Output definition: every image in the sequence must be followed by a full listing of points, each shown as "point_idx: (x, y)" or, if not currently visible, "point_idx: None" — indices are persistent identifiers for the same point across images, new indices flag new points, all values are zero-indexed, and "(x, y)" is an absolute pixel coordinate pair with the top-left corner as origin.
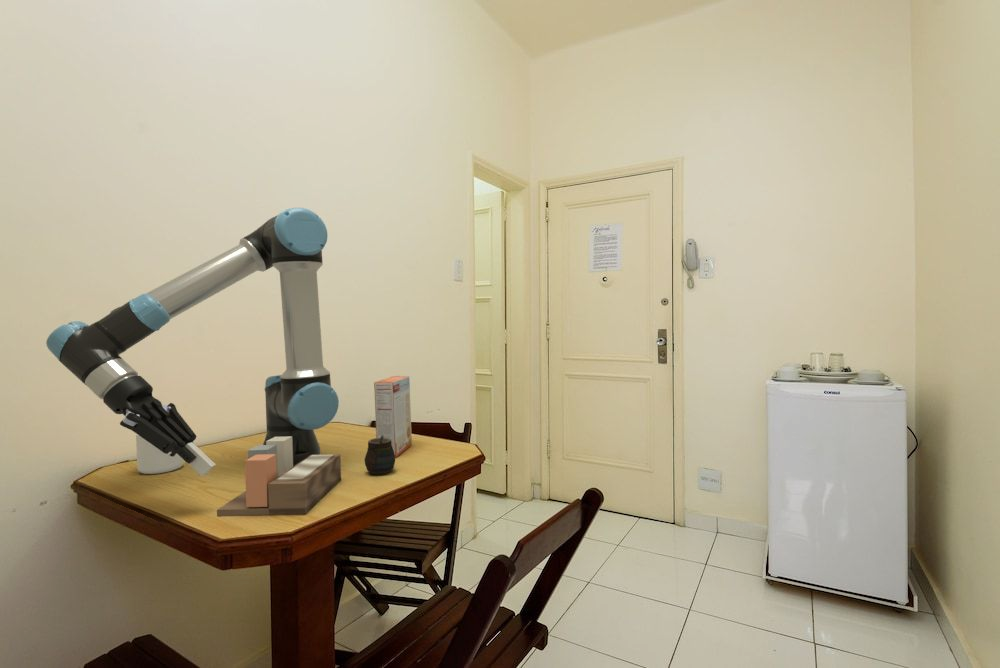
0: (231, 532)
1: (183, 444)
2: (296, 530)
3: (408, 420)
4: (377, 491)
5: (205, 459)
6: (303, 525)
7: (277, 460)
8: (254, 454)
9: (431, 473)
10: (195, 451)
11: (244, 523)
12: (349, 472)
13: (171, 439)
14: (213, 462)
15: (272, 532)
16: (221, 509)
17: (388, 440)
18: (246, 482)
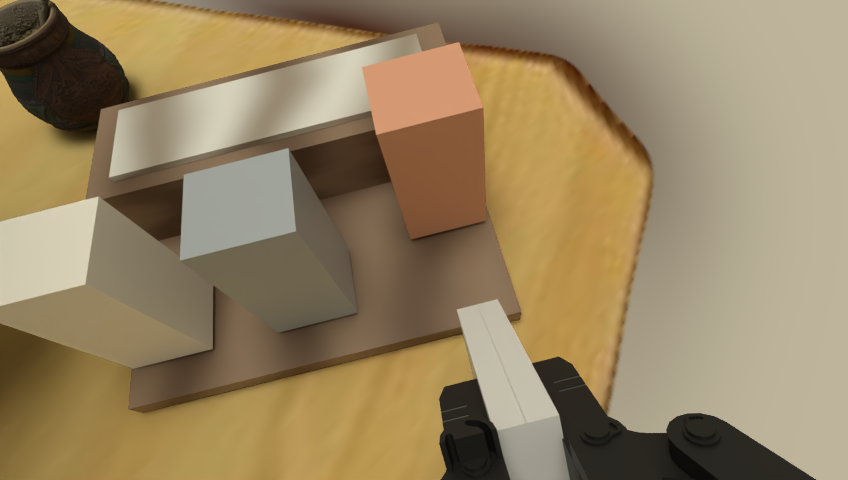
0: (608, 181)
1: (595, 420)
2: (541, 58)
3: None
4: (268, 43)
5: (500, 324)
6: (511, 62)
7: (162, 274)
8: (302, 213)
9: (134, 6)
10: (529, 364)
11: (544, 194)
12: (81, 188)
13: (719, 465)
14: (461, 315)
15: (570, 94)
16: (514, 297)
17: (5, 16)
18: (483, 168)
